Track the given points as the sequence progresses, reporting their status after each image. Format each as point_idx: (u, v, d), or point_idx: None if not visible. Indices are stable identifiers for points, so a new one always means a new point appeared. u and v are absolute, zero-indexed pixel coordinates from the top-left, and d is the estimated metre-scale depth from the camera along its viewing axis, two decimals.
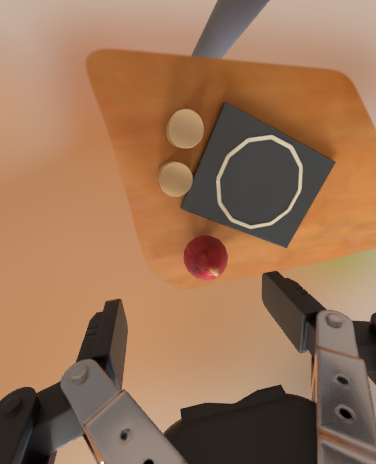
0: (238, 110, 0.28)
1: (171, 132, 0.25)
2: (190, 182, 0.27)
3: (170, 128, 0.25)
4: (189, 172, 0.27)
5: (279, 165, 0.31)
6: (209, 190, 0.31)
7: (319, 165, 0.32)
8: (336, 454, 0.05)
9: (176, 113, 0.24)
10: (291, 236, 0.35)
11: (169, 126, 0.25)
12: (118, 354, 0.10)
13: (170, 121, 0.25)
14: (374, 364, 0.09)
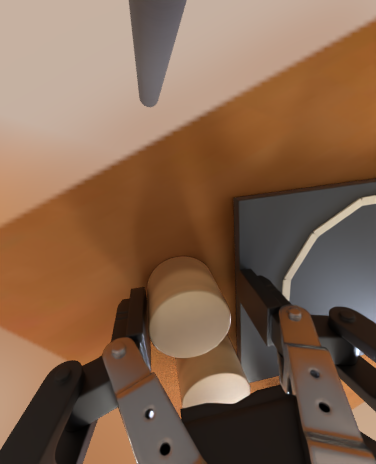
0: (272, 199, 0.12)
1: (164, 349, 0.11)
2: (245, 387, 0.13)
3: (158, 344, 0.11)
4: (236, 377, 0.13)
5: None
6: None
7: None
8: (336, 454, 0.05)
9: (154, 316, 0.10)
10: None
11: (154, 342, 0.11)
12: (147, 336, 0.11)
13: (151, 334, 0.11)
14: (331, 355, 0.09)
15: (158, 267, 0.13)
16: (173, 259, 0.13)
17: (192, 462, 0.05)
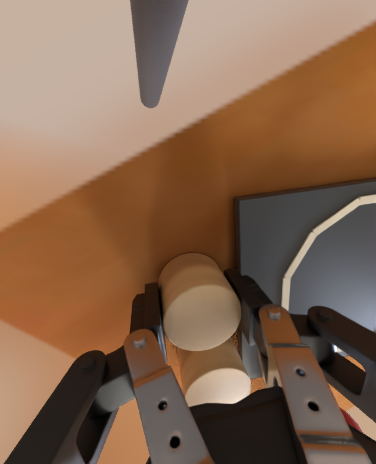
0: (272, 198, 0.13)
1: (177, 342, 0.11)
2: (246, 382, 0.13)
3: (172, 337, 0.11)
4: (237, 372, 0.13)
5: None
6: None
7: None
8: (336, 454, 0.05)
9: (169, 309, 0.11)
10: None
11: (168, 335, 0.11)
12: (162, 329, 0.11)
13: (165, 327, 0.11)
14: None
15: (169, 263, 0.13)
16: (184, 255, 0.13)
17: (200, 459, 0.05)
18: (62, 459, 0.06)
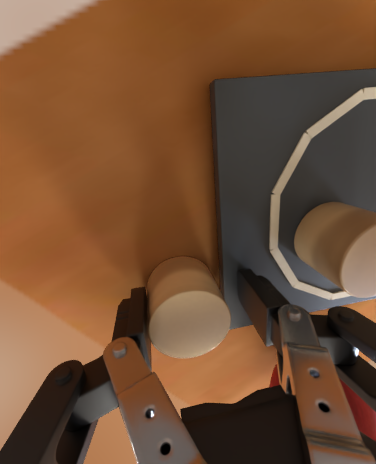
0: (255, 80, 0.10)
1: (365, 236, 0.10)
2: (225, 313, 0.11)
3: (374, 230, 0.10)
4: (212, 298, 0.10)
5: None
6: (265, 275, 0.14)
7: None
8: (336, 454, 0.05)
9: None
10: None
11: None
12: (147, 336, 0.11)
13: None
14: (330, 355, 0.09)
15: None
16: None
17: (192, 462, 0.05)
18: None
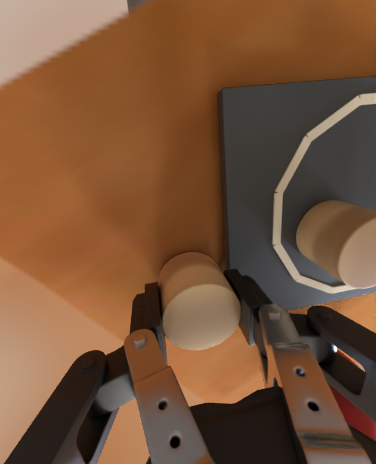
0: (259, 88, 0.11)
1: (361, 231, 0.11)
2: (235, 306, 0.11)
3: (369, 225, 0.11)
4: (223, 291, 0.11)
5: None
6: (268, 269, 0.15)
7: None
8: (336, 454, 0.05)
9: None
10: None
11: (372, 221, 0.11)
12: None
13: None
14: None
15: None
16: None
17: (200, 460, 0.05)
18: (62, 459, 0.06)
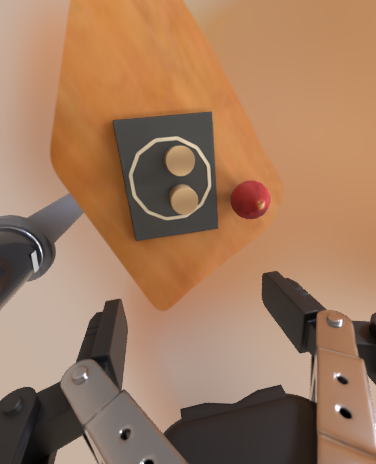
0: (135, 230, 0.37)
1: (176, 209, 0.33)
2: (192, 156, 0.31)
3: (174, 207, 0.33)
4: (187, 149, 0.31)
5: (148, 174, 0.34)
6: (196, 217, 0.38)
7: (125, 135, 0.32)
8: (336, 454, 0.05)
9: (173, 196, 0.33)
10: (198, 115, 0.33)
11: (173, 206, 0.33)
12: (118, 354, 0.10)
13: (172, 203, 0.33)
14: (374, 364, 0.09)
15: (173, 187, 0.35)
16: None
17: None
18: None
